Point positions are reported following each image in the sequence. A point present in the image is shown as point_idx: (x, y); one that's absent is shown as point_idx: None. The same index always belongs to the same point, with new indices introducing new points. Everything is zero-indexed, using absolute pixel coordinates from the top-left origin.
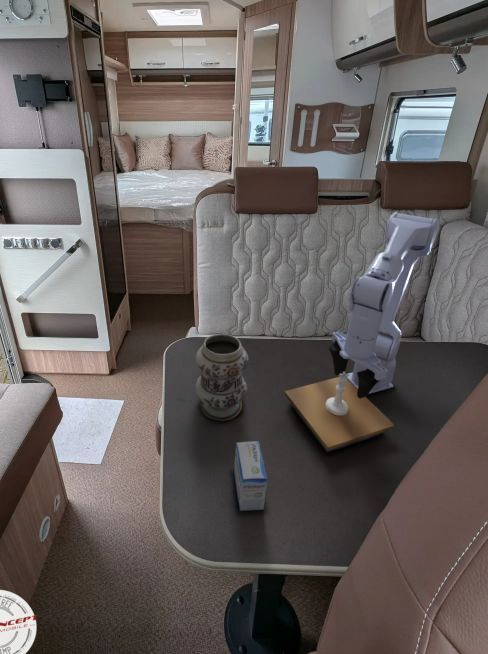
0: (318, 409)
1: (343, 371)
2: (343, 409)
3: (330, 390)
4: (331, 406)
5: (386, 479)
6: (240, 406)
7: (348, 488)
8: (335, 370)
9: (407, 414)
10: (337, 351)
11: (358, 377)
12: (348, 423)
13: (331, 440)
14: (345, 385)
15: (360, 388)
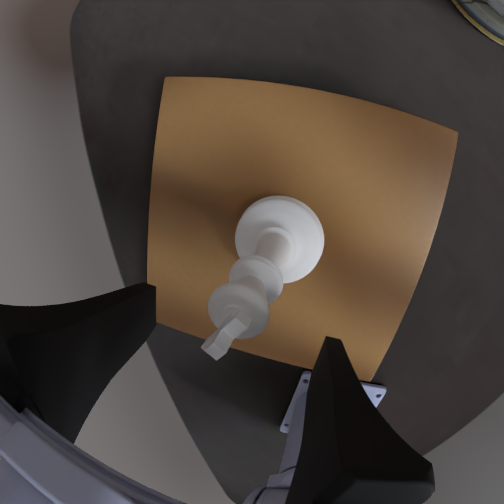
0: (310, 166)
1: (311, 380)
2: (242, 240)
3: (356, 293)
4: (278, 211)
5: (105, 189)
6: (471, 16)
7: (122, 95)
8: (333, 351)
9: (208, 382)
10: (328, 491)
11: (44, 328)
12: (201, 211)
13: (176, 103)
14: None
15: (93, 301)
